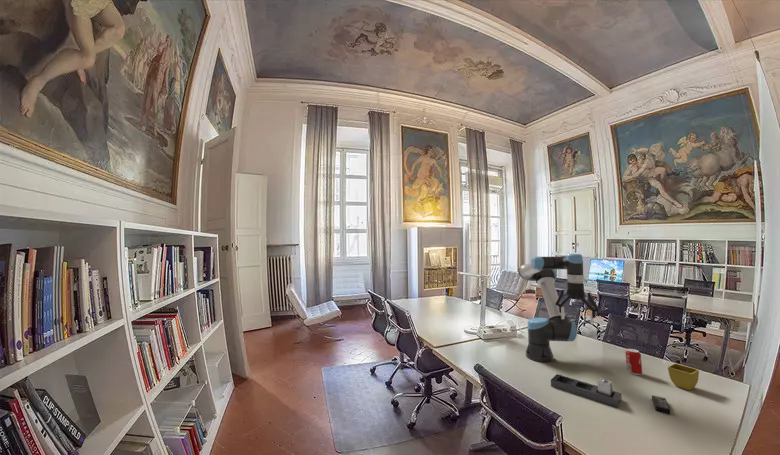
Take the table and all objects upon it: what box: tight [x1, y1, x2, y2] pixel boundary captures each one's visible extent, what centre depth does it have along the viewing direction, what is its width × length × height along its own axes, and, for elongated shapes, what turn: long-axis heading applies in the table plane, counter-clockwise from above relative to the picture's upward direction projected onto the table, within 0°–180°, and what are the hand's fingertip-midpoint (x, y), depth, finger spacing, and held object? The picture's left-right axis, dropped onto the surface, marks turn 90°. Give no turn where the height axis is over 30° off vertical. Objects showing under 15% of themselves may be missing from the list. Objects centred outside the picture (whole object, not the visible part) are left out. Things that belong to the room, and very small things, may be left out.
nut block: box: [596, 377, 614, 398], centre depth 126 cm, size 4×4×8 cm
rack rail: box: [550, 373, 623, 409], centre depth 132 cm, size 26×9×3 cm, turn 43°
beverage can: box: [625, 348, 643, 376], centre depth 151 cm, size 6×6×12 cm
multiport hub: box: [651, 395, 671, 415], centre depth 120 cm, size 4×11×2 cm, turn 143°
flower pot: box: [667, 363, 700, 391], centre depth 135 cm, size 9×9×9 cm
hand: (577, 321), depth 153 cm, fingers open, 13 cm apart
